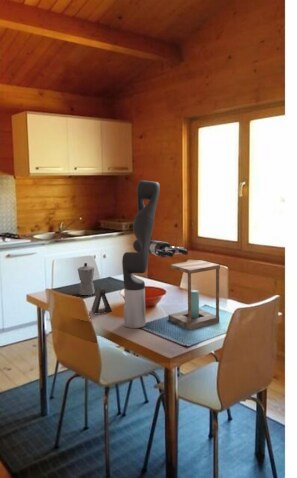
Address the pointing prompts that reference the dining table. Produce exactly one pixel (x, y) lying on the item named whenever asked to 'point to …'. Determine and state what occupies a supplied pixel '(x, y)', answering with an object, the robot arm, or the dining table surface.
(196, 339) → the dining table surface
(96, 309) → the phone stand
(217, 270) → the tan frame
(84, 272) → the coffeepot
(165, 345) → the dining table surface
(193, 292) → the peg
